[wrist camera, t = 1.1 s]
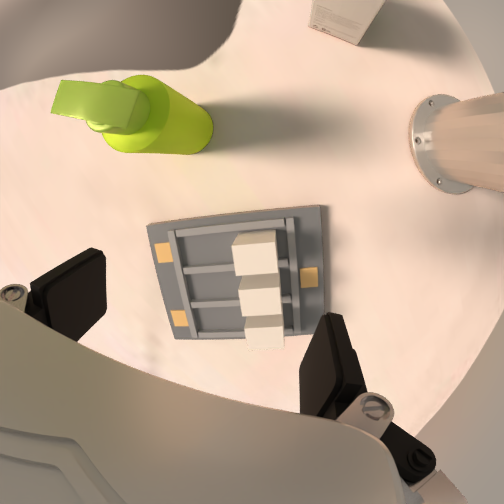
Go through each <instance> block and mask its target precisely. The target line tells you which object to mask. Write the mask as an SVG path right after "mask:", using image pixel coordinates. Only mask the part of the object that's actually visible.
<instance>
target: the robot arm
mask: <svg viewBox="0 0 504 504" xmlns="http://www.w3.org/2000/svg"><path fill="white" fill-rule="evenodd" d="M415 140H416V142H415ZM409 143H410V148H411V153H412V156H413V159H414V161H415V164H416V166H417V167H418V169H419V171H420V173H421V174H422V175H423V177H424V178H425V179H426V180H427V181H428V182H429V183H430V184H431V185H432V186H433V187H435V188H436V189H438V190H440V191H443V192H445V193H450V194H461V193H464V192H467V191H468V190H470V189H471V188H472V187H473V186H478V187H482V188H487V189H491V190H495V191H499V192H503V193H504V92H502V93H496V94H491V95H487V96H482V97H477V98H473V99H469V100H465V101H460V100H458V99H456V98H455V97H452V96H449V95H445V94H438V95H433V96H430V97H428V98H426V99H424V100H423V101H421V102H420V103H419V104H418V106H417V107H416V108H415V110H414V112H413V114H412V117H411V121H410V126H409ZM436 181H437V182H436ZM30 287H31V291H30V292H29V293H28V290H27V288H26V287H25V286H23V285H20V284H11V285H8V286H5V287H4V288H2V289H1V290H0V504H468V502H467V500H466V498H465V497H464V496H463V495H462V494H461V492H460V491H459V490H458V489H457V488H456V487H455V485H454V484H453V483H452V482H451V481H450V480H449V479H448V478H447V476H446V475H445V474H444V473H443V472H442V471H441V470H439V471H438V472H437V471H436V470H435V466H436V458H435V455H434V453H433V452H432V450H431V449H430V448H428V447H427V446H426V445H424V444H423V443H421V442H420V441H419V440H417V439H416V438H414V437H413V436H411V435H410V434H409V433H407V432H406V431H404V430H403V429H401V428H400V427H399V426H397V425H396V424H394V423H393V422H392V419H393V417H394V409H393V406H392V404H391V403H390V402H389V401H388V400H387V399H386V398H385V397H383V396H381V395H379V394H377V393H373V392H367V388H366V385H365V381H364V378H363V374H362V371H361V367H360V364H359V361H358V357H357V354H356V351H355V350H354V349H352V345H351V342H350V339H349V335H348V332H347V329H346V326H345V323H344V319H343V316H342V315H340V314H336V313H331V312H328V313H327V314H326V315H322V316H321V318H320V320H319V323H318V325H317V328H316V330H315V332H314V335H313V337H312V340H311V342H310V344H309V347H308V349H307V351H306V353H305V356H304V358H303V360H302V362H301V365H300V369H299V384H300V413H294V412H289V411H284V410H279V409H274V408H268V407H263V406H259V405H254V404H249V403H245V402H241V401H237V400H232V399H228V398H225V397H221V396H217V395H213V394H210V393H206V392H203V391H199V390H196V389H193V388H190V387H186V386H183V385H180V384H177V383H174V382H171V381H168V380H165V379H163V378H160V377H157V376H154V375H151V374H149V373H146V372H143V371H141V370H138V369H136V368H133V367H131V366H128V365H126V364H123V363H121V362H119V361H116V360H114V359H112V358H109V357H107V356H105V355H103V354H101V353H98V352H96V351H94V350H92V349H90V348H88V347H86V346H84V345H82V344H80V343H78V342H77V341H78V340H79V339H80V338H81V337H82V336H83V335H84V334H85V333H86V332H87V331H88V330H89V329H90V328H91V327H92V326H93V325H94V324H95V323H96V322H97V321H98V320H99V319H100V318H101V317H102V316H103V315H104V314H105V313H106V310H107V298H106V257H105V255H104V254H103V252H102V251H101V250H97V249H94V248H89V249H87V250H85V251H83V252H82V253H80V254H78V255H76V256H74V257H73V258H71V259H69V260H67V261H66V262H64V263H62V264H61V265H59V266H57V267H55V268H54V269H52V270H50V271H49V272H47V273H45V274H44V275H42V276H40V277H39V278H37V279H36V280H34V281H32V282H31V283H30Z"/></svg>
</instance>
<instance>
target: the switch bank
mask: <svg viewBox="0 0 504 504" xmlns="http://www.w3.org/2000/svg"><path fill="white" fill-rule="evenodd" d="M146 227H147V232H148V237H149V242H150V247H151V251H152V256H153V260H154V264H155V269H156V273H157V277H158V281H159V285H160V289H161V293H162V296H163V300H164V304H165V307H166V311H167V314H168V318H169V321H170V325H171V328H172V331H173V335H174V338H175V339H192V340H203V339H246V337H245V330H244V327H245V322H246V318H247V316H242V312H241V305H240V299H239V293H238V289H239V286H240V282H241V279H242V276H236V273H235V267H234V260H233V253H232V244H233V242H234V240H235V238H236V237H237V235H238V233H240V232H250V231H260V230H271V229H276V239H277V249H278V268H279V270H280V281H281V297H282V305H283V317H284V336H297V335H308V334H314V332H315V330H316V328H317V325H318V323H319V320H320V318H321V316H322V315H324V275H323V248H322V228H321V213H320V206H319V205H310V206H298V207H287V208H276V209H265V210H255V211H246V212H237V213H228V214H219V215H210V216H202V217H194V218H186V219H179V220H171V221H164V222H157V223H150V224H148V225H147V226H146Z"/></svg>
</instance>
